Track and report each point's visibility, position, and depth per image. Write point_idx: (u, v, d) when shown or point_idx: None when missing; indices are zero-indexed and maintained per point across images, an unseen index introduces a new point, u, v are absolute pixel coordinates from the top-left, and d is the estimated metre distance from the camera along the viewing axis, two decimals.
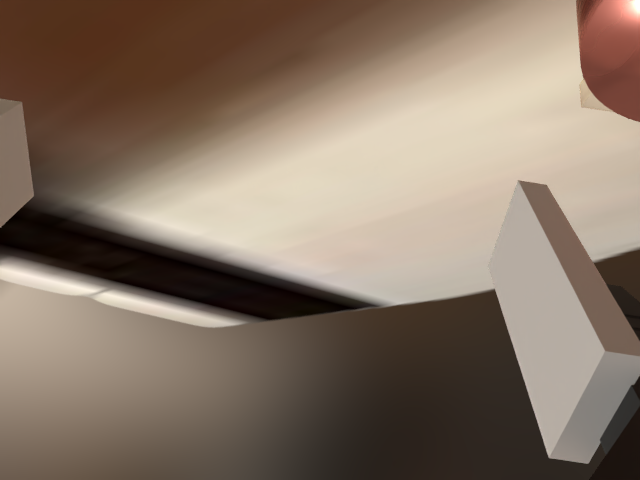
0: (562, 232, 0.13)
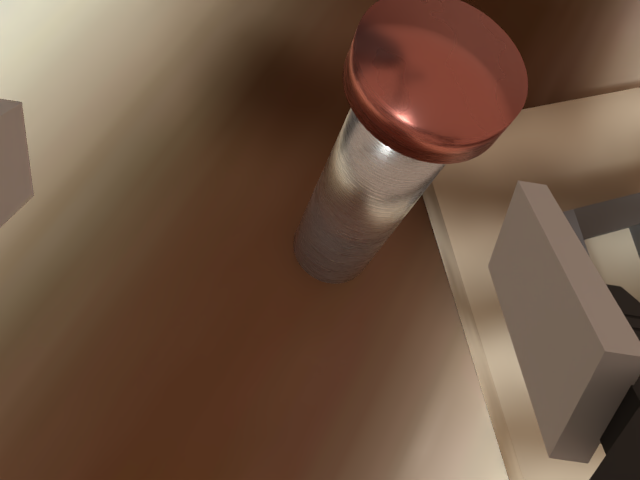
0: (562, 232, 0.13)
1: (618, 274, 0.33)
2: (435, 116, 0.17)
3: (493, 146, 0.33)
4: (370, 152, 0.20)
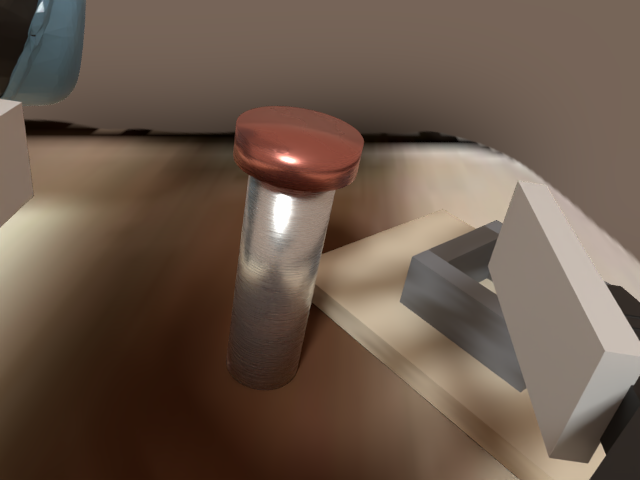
0: (562, 232, 0.13)
1: None
2: (308, 152, 0.24)
3: (356, 260, 0.41)
4: (271, 213, 0.26)
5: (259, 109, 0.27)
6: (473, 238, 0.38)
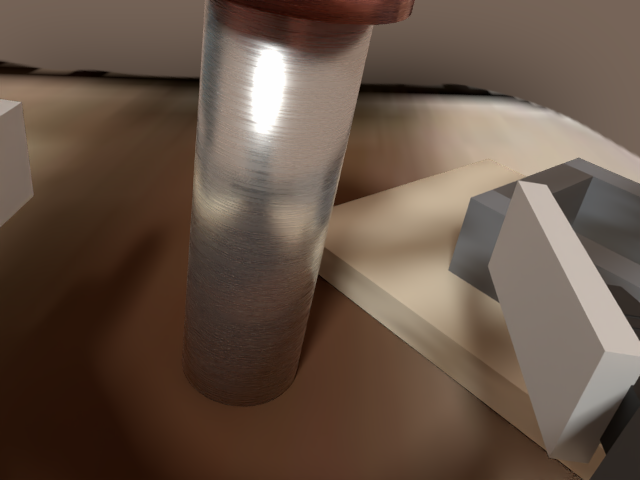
0: (562, 232, 0.13)
1: None
2: None
3: (379, 216, 0.28)
4: (243, 80, 0.13)
5: None
6: (553, 177, 0.26)
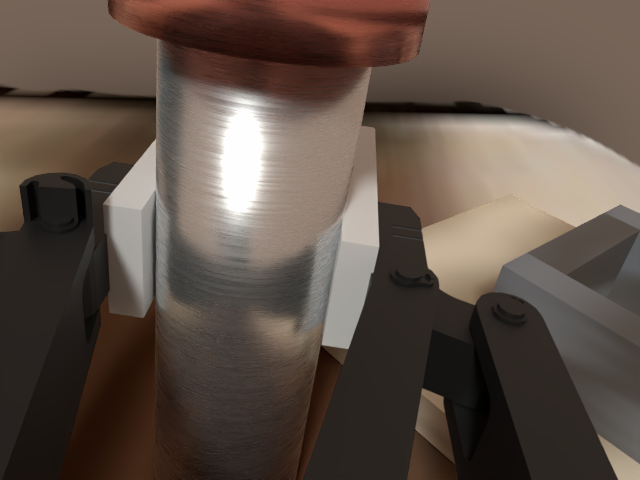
0: (364, 161, 0.15)
1: None
2: None
3: None
4: (203, 143, 0.10)
5: None
6: (595, 233, 0.22)
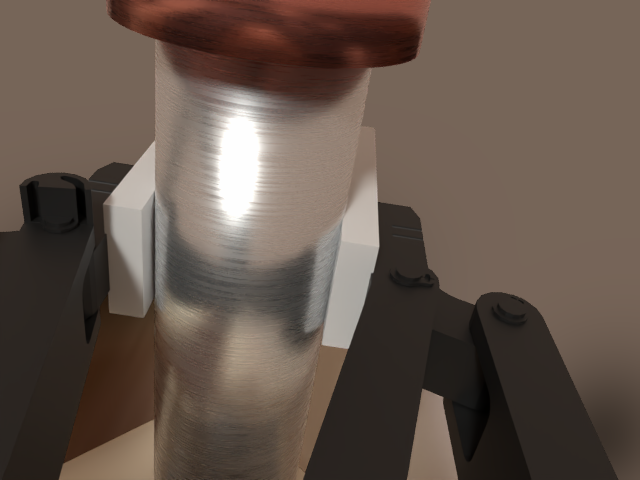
0: (364, 161, 0.15)
1: None
2: None
3: None
4: (202, 145, 0.10)
5: None
6: None
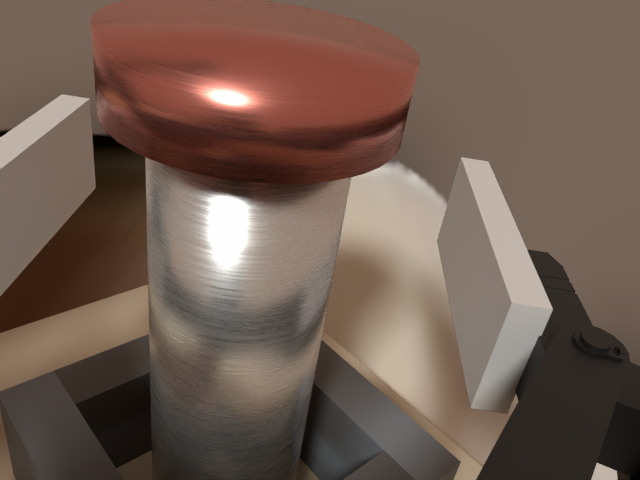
0: (494, 202, 0.14)
1: None
2: (267, 72, 0.08)
3: None
4: (190, 238, 0.10)
5: None
6: None
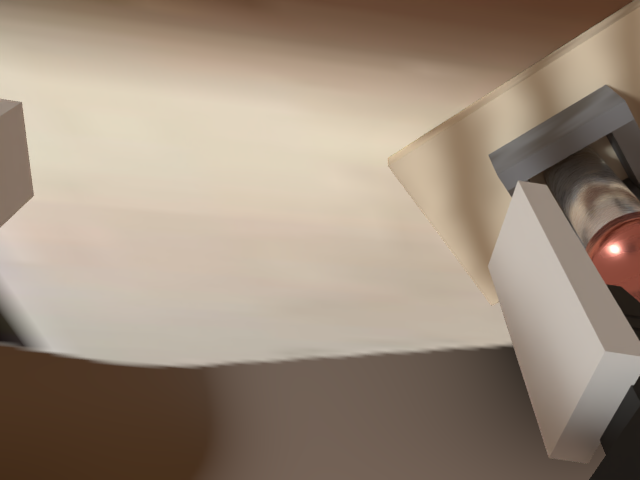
0: (562, 232, 0.13)
1: None
2: (601, 270, 0.32)
3: None
4: (596, 224, 0.34)
5: None
6: None
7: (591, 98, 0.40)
